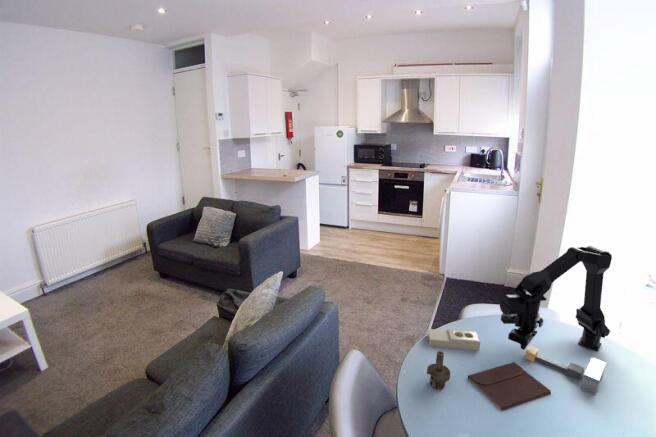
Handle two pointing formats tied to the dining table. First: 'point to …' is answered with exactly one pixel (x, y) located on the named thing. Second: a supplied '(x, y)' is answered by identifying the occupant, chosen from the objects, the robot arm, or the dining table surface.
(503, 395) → the brown leather pouch
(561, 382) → the dining table surface
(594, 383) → the plate
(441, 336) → the electrical outlet
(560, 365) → the plug
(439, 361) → the industrial component
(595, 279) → the robot arm
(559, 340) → the dining table surface
